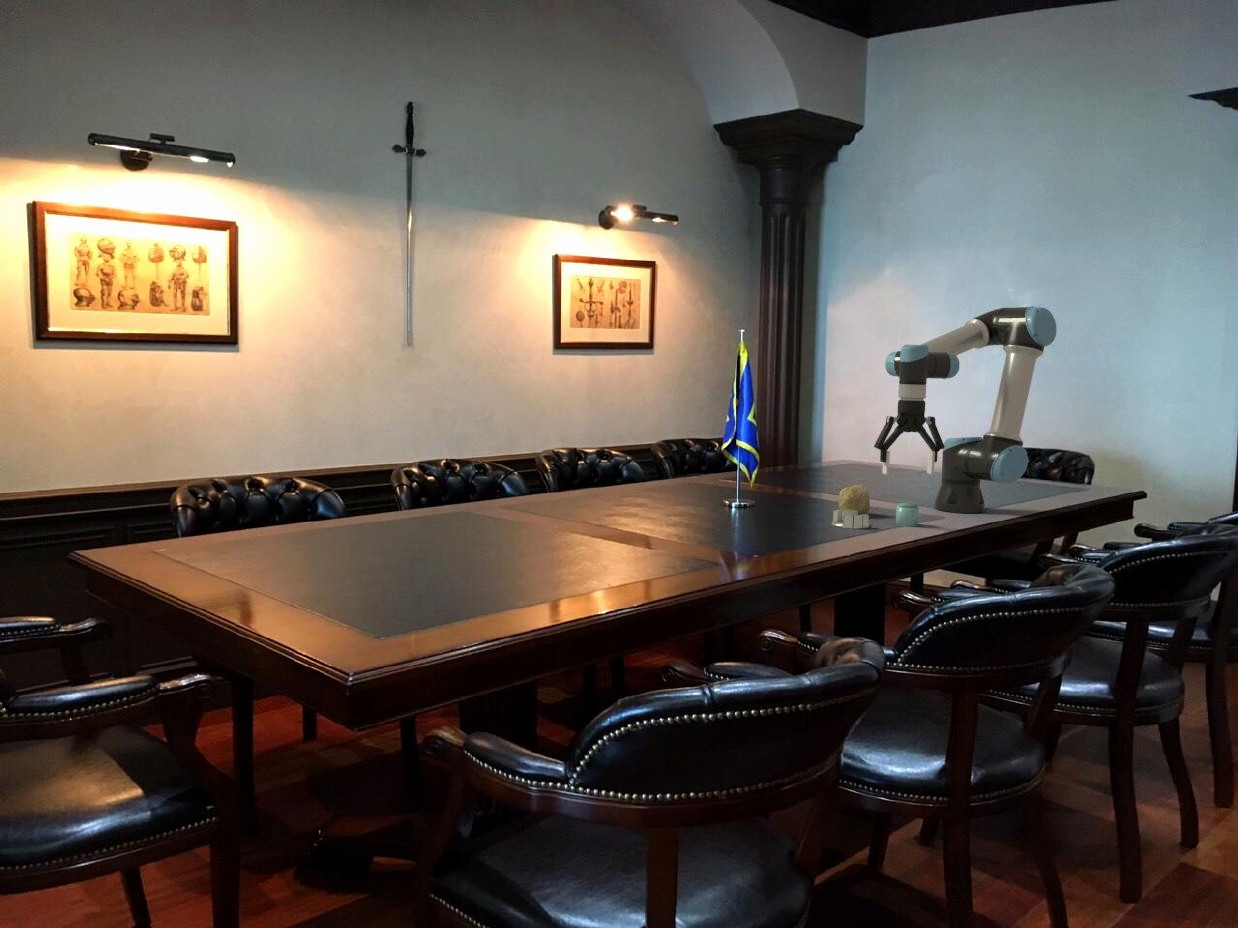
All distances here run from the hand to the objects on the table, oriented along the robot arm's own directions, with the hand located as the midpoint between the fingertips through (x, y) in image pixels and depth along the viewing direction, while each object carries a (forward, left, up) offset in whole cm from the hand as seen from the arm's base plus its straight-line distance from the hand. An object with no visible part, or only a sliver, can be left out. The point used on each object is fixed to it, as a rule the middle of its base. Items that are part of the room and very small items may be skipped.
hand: (908, 473), depth 295 cm
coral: (+9, -18, -15) cm, 25 cm away
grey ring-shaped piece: (+17, 0, -15) cm, 22 cm away
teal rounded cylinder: (0, 0, -15) cm, 15 cm away
